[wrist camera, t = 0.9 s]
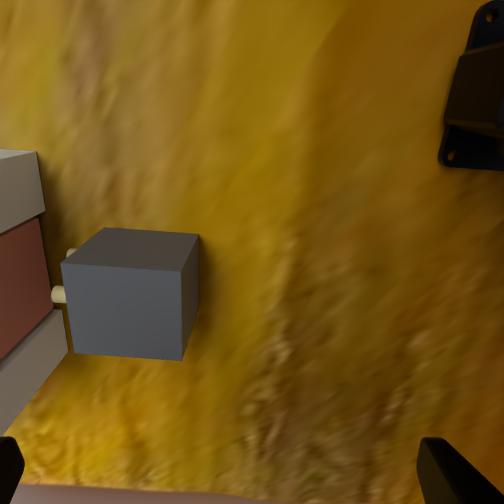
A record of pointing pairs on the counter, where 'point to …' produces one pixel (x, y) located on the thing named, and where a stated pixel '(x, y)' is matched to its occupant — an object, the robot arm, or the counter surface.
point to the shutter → (22, 283)
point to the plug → (131, 293)
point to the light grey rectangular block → (51, 326)
